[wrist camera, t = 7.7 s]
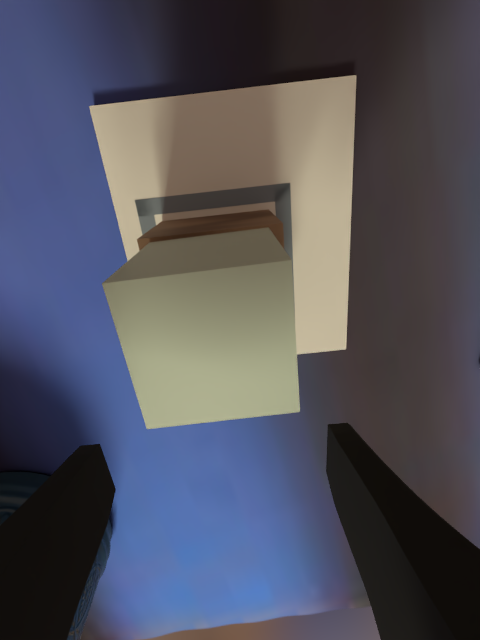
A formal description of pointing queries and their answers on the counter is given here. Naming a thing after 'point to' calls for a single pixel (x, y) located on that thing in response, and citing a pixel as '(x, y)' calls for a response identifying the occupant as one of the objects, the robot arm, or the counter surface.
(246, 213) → the walnut block
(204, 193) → the cream square tray
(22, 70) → the counter surface
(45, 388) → the counter surface
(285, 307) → the sage block
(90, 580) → the canister
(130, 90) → the counter surface
